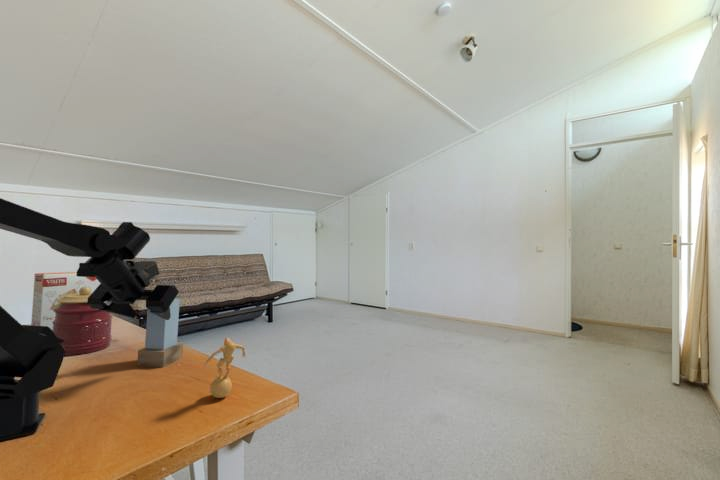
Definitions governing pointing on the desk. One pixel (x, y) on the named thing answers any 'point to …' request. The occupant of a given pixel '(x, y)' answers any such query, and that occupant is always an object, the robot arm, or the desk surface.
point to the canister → (81, 324)
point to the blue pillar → (162, 329)
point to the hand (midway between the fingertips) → (151, 317)
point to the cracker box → (55, 293)
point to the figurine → (221, 383)
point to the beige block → (160, 356)
